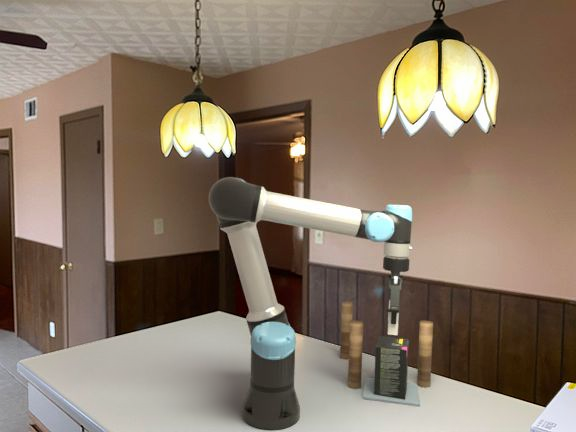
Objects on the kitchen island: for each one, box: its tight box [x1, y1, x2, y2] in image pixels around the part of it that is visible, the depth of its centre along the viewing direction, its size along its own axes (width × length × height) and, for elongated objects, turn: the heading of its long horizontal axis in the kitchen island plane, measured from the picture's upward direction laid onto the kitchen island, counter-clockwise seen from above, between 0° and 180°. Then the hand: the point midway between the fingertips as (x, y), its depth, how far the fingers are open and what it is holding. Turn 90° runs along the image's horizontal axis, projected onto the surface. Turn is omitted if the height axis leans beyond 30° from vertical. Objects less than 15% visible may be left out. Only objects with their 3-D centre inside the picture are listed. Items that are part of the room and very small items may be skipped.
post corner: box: [347, 320, 364, 390], centre depth 136 cm, size 4×4×20 cm
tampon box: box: [374, 335, 409, 399], centre depth 133 cm, size 11×9×15 cm
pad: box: [362, 377, 421, 407], centre depth 133 cm, size 14×16×1 cm
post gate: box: [339, 301, 354, 361], centre depth 159 cm, size 4×4×20 cm
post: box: [416, 319, 434, 388], centre depth 138 cm, size 4×4×20 cm
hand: (392, 327), depth 132 cm, fingers open, 13 cm apart
